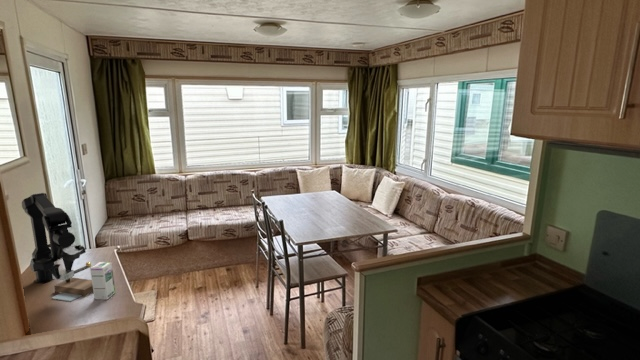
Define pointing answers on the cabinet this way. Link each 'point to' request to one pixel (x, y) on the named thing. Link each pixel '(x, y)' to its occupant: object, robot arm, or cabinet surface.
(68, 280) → the lever
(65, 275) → the grey block
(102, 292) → the syrup box
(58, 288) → the body
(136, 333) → the cabinet surface
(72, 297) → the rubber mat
